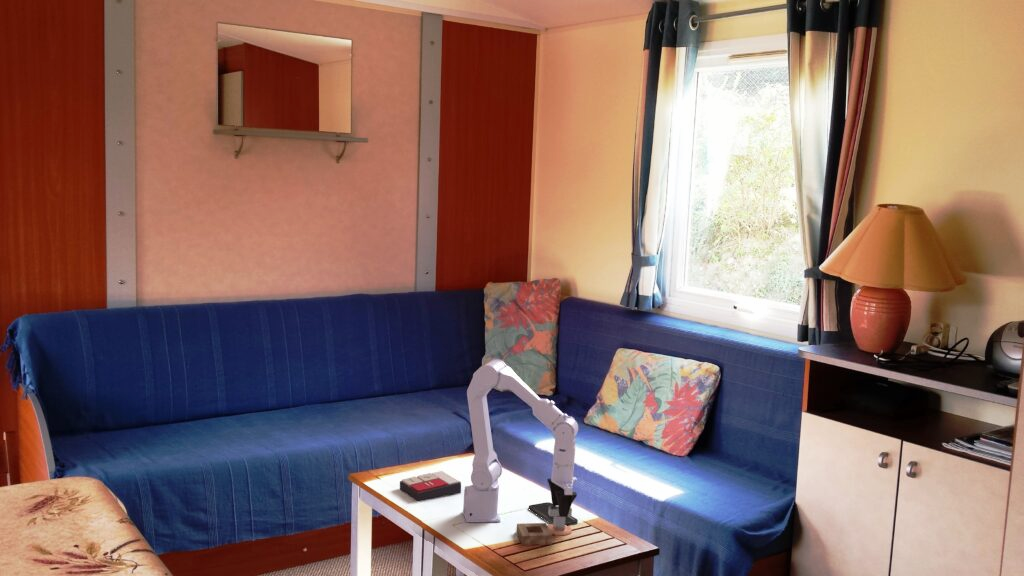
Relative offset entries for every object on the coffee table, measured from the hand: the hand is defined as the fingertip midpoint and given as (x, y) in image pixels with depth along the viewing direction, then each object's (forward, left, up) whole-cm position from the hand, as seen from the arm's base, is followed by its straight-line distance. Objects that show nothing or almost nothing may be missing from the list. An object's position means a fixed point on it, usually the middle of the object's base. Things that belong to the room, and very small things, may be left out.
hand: (559, 510), depth 242 cm
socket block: (-8, -5, -6) cm, 11 cm away
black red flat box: (-32, +30, -6) cm, 44 cm away
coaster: (0, 0, -6) cm, 6 cm away
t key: (0, 0, -5) cm, 5 cm away
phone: (+1, +10, -6) cm, 12 cm away
